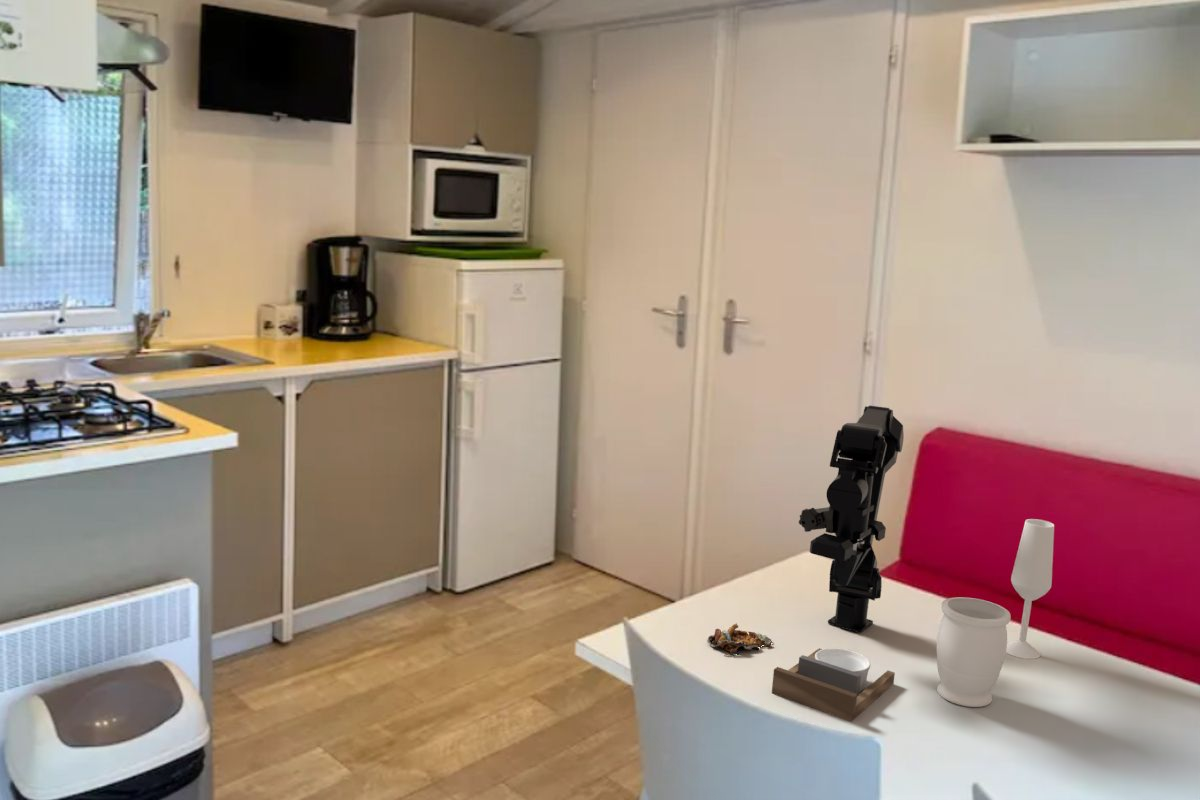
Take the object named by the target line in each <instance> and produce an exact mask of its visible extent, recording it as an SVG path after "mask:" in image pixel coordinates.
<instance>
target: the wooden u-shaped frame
mask: <svg viewBox="0 0 1200 800" xmlns="http://www.w3.org/2000/svg"><path fill="white" fill-rule="evenodd" d="M822 649H823V648H820V647H819V648H818V649H816V650H815V651H813V652H812V653H810V654H809V655H807V657H810V658H813V659H815V654H816V652H818V651H819V650H822ZM798 665H799V662H798V663H796V664H795V665H794V666H792V667H791V668H789V669H786V668H785V669H784V668H782V667H779V666H777V667H775V668H774V669H773V673H772V674H773V675H772V684H771V685H772V687H771V694H774V695H777V696H779V697H782V698H785V699H788V700H790V701H793V702H796V703H798V704H802V705H804V706H806V707H807V706H808V707H810V708H811V709H812V708H813V709H816V710H818V711H822V712H823V713H824V712H825V713H827V714H830V715H831V716H832V715H833V716H835V717H838V718H840V719H844V720H846V721H849V722H852V721H854V719H856V718H857V717H858V716H860V714H861V713H862V712H864V711H865V710H866V709H867V708H869V706H870V705H871V704H872V703H874V702H875V701H876V700H878V699H879V697H880V696H882V695H883V694H884V693H885V692H886V691H887V690H888V689H890V688H891V687H892V686H893V685H894V682H895V674H896V672H894V671H891V670H887V671H885V672H883V674H882V675H881V676H879V677H877V679H876V680H875V681H873V682H872V683H871V684H870V685H869V686H868V687H866V688H864V689H863V690H862V692H861V693H859V695H858V696H857V694H855V693H852V692H850V691H847V690H844V689H841V688H838V687H835V686H832V685H829V684H826V683H823V682H820V681H817V680H814V679H812V678H809V677H806V676H803V675H800V674H798Z"/></svg>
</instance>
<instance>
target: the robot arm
mask: <svg viewBox="0 0 1200 800" xmlns="http://www.w3.org/2000/svg"><path fill="white" fill-rule="evenodd" d="M903 445H904V424H902V423H901V421H899V420H898V419H897V418H896V417H895V416H894V410H893V409H890V407H886V406H885V407H884V406H877V405H868V406H866V405H865V406H864V409H863V414H862V415H861V416H860V417H859V418H858V421H856V422H847V423H845V424H843V425H842V427H841V429H837V432H836V436H835V440H834V444H833V449H832V453H831V458H830V461H829V462H830V463H829V467H830V468H834V469H835V468H837V469H838V472H837V475H836V477H835V478H834V480H833V481H832V482H831V483H830V484H829V485H828V487H827V489H826V500H827V502H828V504H829V506H827V507H820V508H814V507H811V508H805V509H802V511H801V513H800V515H799V520H798V524H799V525H800V526H801V527H802V528H803V529H804V532H806V533H808V532H812V531H814V530H823V529H825V533H822V534H820V535H819V536H817V537H815V538H813V539H812V540H811V541H810V545H809V546H810V547H809V553H810V554H813V555H816V556H820V557H823V558H827V559H832V561H831V564H830V569H829V584H828V585H829V586H828V587H829V589H828V591H829V593H830V592H831V593H837V597H836V598H837V599H836V607H835V615H833V616H832V617H831V618H829V619H828V620H827V624H829V625H833V626H836V627H839V628H842V629H845V630H848V631H851V632H855V633H862V632H864V631H865V630H866V629H867V628H869V627H870V626H871V625H873V623H874V621H873V620H872V619H869V618H868V610H869V603H870V600H871V601H875V600H877V599H881V598H882V597H881V595H882V588H883V587H882V586H883V585H882V579H883V577H882V576H881V574H880V568H878V559H877V556H876V554H875V551H874V549H873V542H874V541H873V540H874V538H875V541H878V542H880V541H881V540H883V539H884V538H886V529H887V528H886V526H885V524H883V521H879V520H877V519H878V513H879V510H880V503H881V498H882V494H883V493H882V492H883V489H884V488H883V486H884V482H885V477H886V474H887V472H888V471H889V470H890V469H892V467H893V466H895V464H896V463H897V459H898V454H899V453H901V452H902V450H903ZM833 534H834V535H833Z"/></svg>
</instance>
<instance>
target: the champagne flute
mask: <svg viewBox="0 0 1200 800" xmlns="http://www.w3.org/2000/svg"><path fill="white" fill-rule="evenodd" d="M1054 540H1055V524H1054V523H1052V522H1051V521H1048V520H1044V519H1036V518H1029V519H1028V518H1027V519H1025V521H1024V524H1023V529H1022V532H1021V538H1020V541H1019V545H1018V550H1017V553H1016V557H1015V560H1014V565H1013V568H1012V569H1013V570H1012V572H1011V576H1010V577H1011V578H1010V581H1011V584H1012V587H1013V588H1014V589H1015V591H1016V593H1018V595H1019V596H1020V597H1021V598H1022V599H1023V600H1024V604H1023V609H1022V611H1023V612H1022V617H1021V622H1020V623H1021V624H1020V631H1019V637H1018V639H1017V640H1014V641H1010V642H1007V649H1006V654H1008V655H1011V656H1013V657H1015V658H1016V657H1017V658H1019V659H1026V660H1034V659H1038V658H1040V657H1041V655H1042V654H1041V652H1040V651H1039V650H1037V648H1035V647H1033V646H1032V645H1031V644H1030V643H1029V642H1027V636H1028V631H1029V622H1030V616H1031V611H1032V601H1033V602H1034V601H1036V600H1038V599H1040V598H1041V597H1044V596H1045V595H1046V594H1047V593H1049V591H1050V589H1051V588H1052V584H1053V583H1052V582H1053V581H1052V580H1053V562H1054V559H1053V558H1054Z"/></svg>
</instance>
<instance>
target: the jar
mask: <svg viewBox="0 0 1200 800" xmlns="http://www.w3.org/2000/svg"><path fill="white" fill-rule="evenodd" d="M941 612H942V613H943V615H942V618H941V619H940V623H939V627H938V631H937V636H936V667H937V673H938V676H939V679H940V683H939V684H938V685H937V688H936V689H937V693H938V694H939V695H940V696H941V698H943V699H944V700H946V701H949V702H950V703H953V704H955V705H959V706H962V707H967V708H968V707H970V708H980V707H986V706H988V705H990V704H991V703H992V701H993V695H992V693H991V691H992V690H993V688H994V687H995V686H996V683H997V682H998V679H999V678H1000V674H1001V671H1002V667H1003V664H1004V662H1005V657H1006V654H1007V653H1006V649H1007V643H1008V630H1007V625H1008V624H1009V623H1010V622H1011V618H1012V617H1011V613H1010V611H1009V610H1008V609H1006V608H1005V607H1003V606H1002V605H999V604H997V603H995V602H994V603H993V602H991V601H987V600H984V599H981V598H972V597H965V596H964V597H960V596H959V597H949V598H946V599H944V600H943V601H942V602H941Z"/></svg>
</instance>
